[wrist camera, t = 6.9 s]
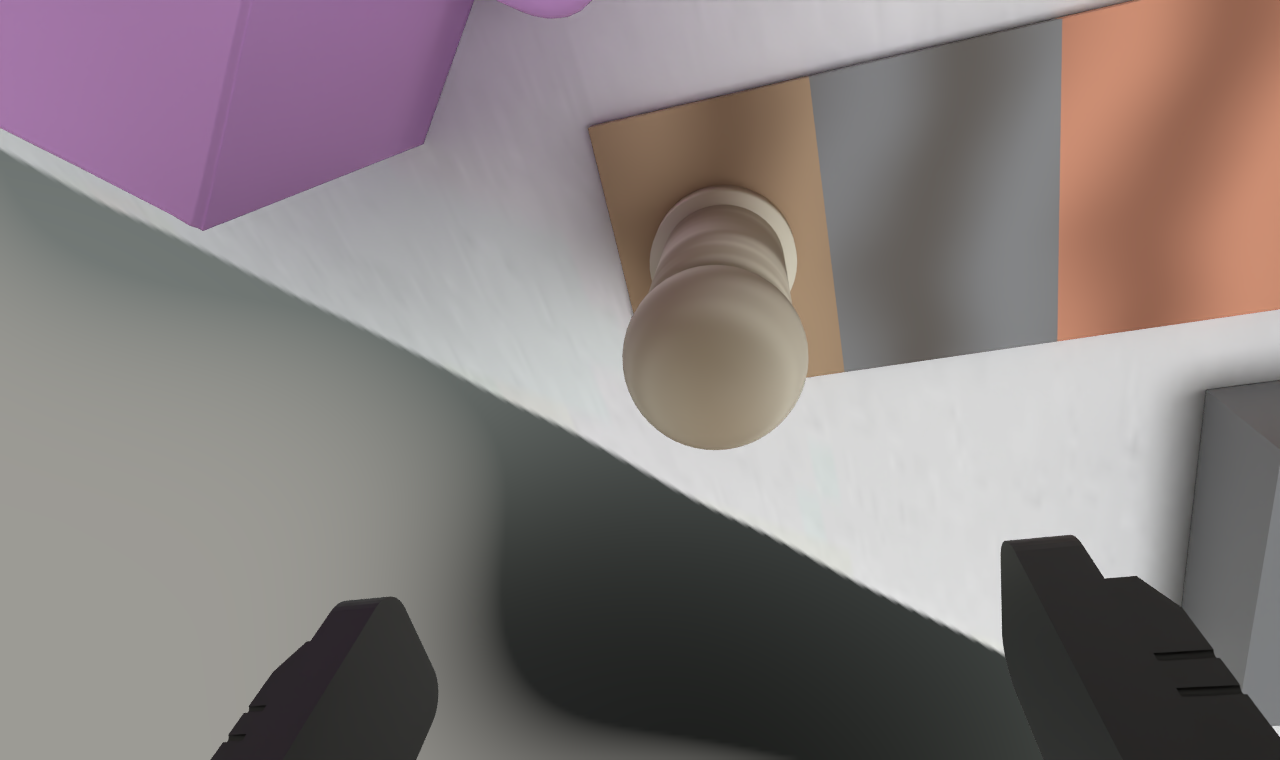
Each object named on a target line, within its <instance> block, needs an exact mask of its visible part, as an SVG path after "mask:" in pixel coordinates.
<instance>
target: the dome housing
mask: <svg viewBox="0 0 1280 760" xmlns="http://www.w3.org/2000/svg"><path fill="white" fill-rule="evenodd" d="M1182 608H1183V609H1184V611H1185V612H1186V613H1187V615H1188V616H1189V617H1190V619H1191V620H1192V621H1193V623H1194V624H1195V625H1196V627H1197V628H1198V629H1199V631H1200V632H1201V633H1202V635H1203V636H1204V637H1205V639H1206V640H1207V641H1208V643H1209V644H1210V645H1211V647H1212V648H1213V649H1214V654H1215V656H1216V658H1220V659H1221V660H1222V661H1223V663H1224V664H1225V665H1226V667H1227V668H1228V669H1229V670H1230V672H1231V673H1232V674H1233V676H1234V677H1235V678H1236V680H1237V681H1238V682H1239V684H1240V688H1241V691H1242V693H1243V694H1248V696H1249V697H1250V698H1251V700H1252V701H1253V702H1254V704H1255V705H1256V706H1257V708H1258V709H1259V710H1260V712H1261V713H1262V714H1263V716H1264V717H1265V718H1266V720H1267V721H1268V722H1269V724H1270V725H1271V726H1280V381H1274V382H1266V383H1258V384H1250V385H1242V386H1234V387H1226V388H1218V389H1210V390H1206V396H1205V405H1204V414H1203V423H1202V432H1201V441H1200V449H1199V458H1198V467H1197V476H1196V485H1195V494H1194V503H1193V512H1192V521H1191V529H1190V538H1189V547H1188V556H1187V565H1186V574H1185V583H1184V592H1183V601H1182Z"/></svg>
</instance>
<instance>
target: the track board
mask: <svg viewBox="0 0 1280 760" xmlns="http://www.w3.org/2000/svg"><path fill="white" fill-rule="evenodd" d="M588 130H589V135H590V139H591V143H592V147H593V151H594V155H595V159H596V163H597V167H598V171H599V175H600V179H601V183H602V187H603V191H604V195H605V199H606V203H607V208H608V212H609V216H610V220H611V224H612V228H613V232H614V236H615V240H616V244H617V248H618V252H619V256H620V260H621V264H622V268H623V272H624V276H625V280H626V285H627V289H628V293H629V297H630V301H631V305H632V309H633V313H635V311H636V309H637V308H638V306H639V304H640V303H641V302H642V300H643V299H644V298H645V297H646V295H647V294H648V292H649V289H650V287H651V284H652V279H651V273H650V253H651V248H652V244H653V241H654V238H655V236H656V233H657V231H658V228H659V226H660V224H661V222H662V220H663V219H664V217H665V216H666V214H667V213H668V212H669V210H670V209H671V208H672V207H673V206H674V205H675V204H676V203H678V202H679V201H680V200H681V199H683V198H684V197H686V196H687V195H689V194H691V193H693V192H695V191H698V190H700V189H703V188H707V187H710V186H718V185H732V186H739V187H743V188H747V189H750V190H752V191H755V192H757V193H759V194H761V195H762V196H764V197H766V198H767V199H768V200H769V201H771V202H772V203H773V204H774V205H775V206H776V207H777V208H778V209H779V210H780V211H781V213H782V214H783V215H784V217H785V218H786V220H787V222H788V224H789V226H790V229H791V231H792V234H793V239H794V243H795V248H796V253H797V271H796V276H795V280H794V283H793V286H792V289H791V291H790V294H791V300H792V305H793V307H794V308H795V310H796V312H797V314H798V316H799V317H800V320H801V323H802V325H803V328H804V331H805V334H806V339H807V343H808V371H807V376H806V378H807V377H814V376H821V375H827V374H834V373H841V372H848V371H855V370H862V369H869V368H876V367H883V366H890V365H897V364H904V363H911V362H917V361H924V360H931V359H938V358H945V357H952V356H959V355H966V354H973V353H980V352H987V351H994V350H1001V349H1008V348H1014V347H1021V346H1028V345H1035V344H1042V343H1049V342H1056V341H1063V340H1070V339H1077V338H1084V337H1091V336H1098V335H1104V334H1111V333H1118V332H1125V331H1132V330H1139V329H1146V328H1153V327H1160V326H1167V325H1174V324H1181V323H1188V322H1195V321H1201V320H1208V319H1215V318H1222V317H1229V316H1236V315H1243V314H1250V313H1257V312H1264V311H1271V310H1278V309H1280V0H1133V1H1128V2H1124V3H1120V4H1115V5H1111V6H1107V7H1102V8H1098V9H1094V10H1089V11H1085V12H1081V13H1076V14H1072V15H1068V16H1063V17H1059V18H1055V19H1051V20H1046V21H1042V22H1038V23H1033V24H1029V25H1025V26H1020V27H1016V28H1012V29H1007V30H1003V31H999V32H994V33H990V34H986V35H981V36H977V37H973V38H968V39H964V40H960V41H955V42H951V43H947V44H943V45H938V46H934V47H930V48H925V49H921V50H917V51H912V52H908V53H904V54H899V55H895V56H891V57H886V58H882V59H878V60H873V61H869V62H865V63H860V64H856V65H852V66H848V67H843V68H839V69H835V70H830V71H826V72H822V73H817V74H813V75H809V76H804V77H800V78H796V79H791V80H787V81H783V82H778V83H774V84H770V85H765V86H761V87H757V88H752V89H748V90H744V91H740V92H735V93H731V94H727V95H722V96H718V97H714V98H709V99H705V100H701V101H696V102H692V103H688V104H683V105H679V106H675V107H670V108H666V109H662V110H657V111H653V112H649V113H644V114H640V115H636V116H632V117H627V118H623V119H619V120H614V121H610V122H606V123H601V124H597V125H593V126H590V127H589V128H588Z"/></svg>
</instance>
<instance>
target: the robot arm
mask: <svg viewBox="0 0 1280 760" xmlns="http://www.w3.org/2000/svg"><path fill="white" fill-rule="evenodd" d="M1001 598H1002V638H1003V646H1004V652H1005V658H1006V662H1007V666H1008V670H1009V674H1010V677H1011V680H1012V684H1013V686H1014V689H1015V692H1016V694H1017V697H1018V699H1019V701H1020V704H1021V706H1022V709H1023V711H1024V714H1025V716H1026V719H1027V721H1028V723H1029V726H1030V728H1031V731H1032V733H1033V736H1034V738H1035V740H1036V743H1037V745H1038V747H1039V750H1040V752H1041V755H1042V757H1043V760H1280V737H1279V736H1278V734H1277V733H1276V732H1275V730H1274V729H1273V728H1272V726H1271V725H1270V724H1269V722H1268V721H1267V720H1266V718H1265V717H1264V716H1263V714H1262V713H1261V712H1260V710H1259V709H1258V708H1257V706H1256V705H1255V704H1254V702H1253V701H1252V700H1251V698H1250V697H1249V696H1248V694H1243V693H1242V691H1241V688H1240V684H1239V682H1238V681H1237V680H1236V678H1235V677H1234V676H1233V674H1232V673H1231V672H1230V670H1229V669H1228V668H1227V667H1226V665H1225V664H1224V663H1223V661H1222V660H1221V659H1220V658H1216V656H1215V654H1214V649H1213V648H1212V647H1211V645H1210V644H1209V643H1208V641H1207V640H1206V639H1205V637H1204V636H1203V635H1202V633H1201V632H1200V631H1199V629H1198V628H1197V627H1196V625H1195V624H1194V623H1193V621H1192V620H1191V619H1190V617H1189V616H1188V615H1187V613H1186V612H1185V611H1184V609H1183V608H1182V607H1180V606H1179V605H1177V604H1176V603H1174V602H1173V601H1171V600H1170V599H1169V598H1167V597H1166V596H1164V595H1163V594H1161V593H1160V592H1159V591H1157V590H1156V589H1154V588H1153V587H1151V586H1150V585H1148V584H1147V583H1146V582H1144V581H1143V580H1141V579H1140V578H1138V577H1137V576H1131V577H1119V578H1106V579H1104V577H1103V576H1102V574H1101V573H1100V571H1099V569H1098V568H1097V566H1096V565H1095V563H1094V562H1093V560H1092V559H1091V557H1090V556H1089V554H1088V553H1087V551H1086V550H1085V548H1084V546H1083V545H1082V544H1081V542H1080V541H1079V540H1078V539H1077V538H1076V537H1075V536H1073V535H1064V536H1053V537H1042V538H1031V539H1021V540H1010V541H1004V542H1003V543H1002V547H1001ZM437 703H438V683H437V677H436V674H435V671H434V669H433V667H432V665H431V662H430V660H429V658H428V656H427V654H426V652H425V650H424V647H423V645H422V643H421V641H420V639H419V637H418V635H417V633H416V631H415V628H414V626H413V624H412V622H411V620H410V618H409V616H408V613H407V611H406V609H405V607H404V605H403V604H402V603H401V602H400V600H398V599H397V598H395V597H381V598H371V599H360V600H349V601H343V602H341V603H339V604H337V605H336V606H335V607H334V608H333V609H332V611H331V612H330V613H329V615H328V616H327V618H326V619H325V621H324V623H323V624H322V625H321V627H320V628H319V630H318V631H317V633H316V634H315V636H314V637H313V638H312V640H311V641H308V642H306V643H305V644H304V645H302V647H300V648H299V649H298V650H297V651H296V652H295V653H294V654H292V655H291V656H290V657H289V658H288V659H287V660H286V661H285V662H284V663H283V664H281V665H280V666H279V667H278V668H277V669H276V670H275V671H274V672H273V673H272V674H271V676H270V677H269V679H268V680H267V681H266V683H265V684H264V685H263V687H262V688H261V690H260V691H259V693H258V694H257V695H256V697H255V698H254V700H253V701H252V702H251V704H250V705H249V712H248V713H244V714H243V715H242V716H241V718H240V719H239V721H238V722H237V723H236V725H235V726H234V728H233V729H232V731H231V732H230V733H229V740H228V742H223V743H222V745H221V746H220V747H219V749H218V750H217V752H216V753H215V754H214V756H213V757H212V759H211V760H416V759H417V756H418V754H419V752H420V750H421V747H422V745H423V743H424V740H425V738H426V736H427V733H428V731H429V729H430V727H431V724H432V722H433V719H434V717H435V713H436V709H437Z"/></svg>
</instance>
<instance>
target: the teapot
mask: <svg viewBox="0 0 1280 760" xmlns="http://www.w3.org/2000/svg"><path fill="white" fill-rule="evenodd" d="M497 1H499V2H501V3H503V4H506V5H508V6H510V7H512V8H515V9H517V10H519V11H521V12H524V13H527V14H530V15H533V16H537V17H543V18H562V17H568V16H570V15H573V14H575V13H577V12H579V11H581V10H582V9H583V8H584V7H585V6H586V5H587V4H588V3H590V2H591V1H592V0H497ZM473 2H474V0H0V128H2V129H4V130H6V131H8V132H10V133H12V134H14V135H16V136H18V137H20V138H22V139H24V140H25V141H27V142H29V143H31V144H33V145H35V146H37V147H39V148H41V149H43V150H45V151H47V152H49V153H51V154H53V155H55V156H57V157H59V158H61V159H63V160H65V161H67V162H69V163H71V164H73V165H75V166H78V167H80V168H81V169H83V170H85V171H87V172H89V173H91V174H93V175H95V176H97V177H99V178H101V179H103V180H105V181H107V182H109V183H111V184H113V185H115V186H117V187H119V188H121V189H122V190H124V191H126V192H128V193H130V194H132V195H134V196H136V197H138V198H140V199H142V200H144V201H146V202H148V203H150V204H152V205H154V206H156V207H158V208H160V209H161V210H163V211H165V212H167V213H169V214H171V215H173V216H175V217H176V218H178V219H180V220H181V221H183V222H185V223H186V224H188V225H190V226H192V227H196V228H199V229H201V230H202V231H204V230H207V229H209V228H212V227H214V226H217V225H219V224H222V223H224V222H227V221H229V220H232V219H234V218H237V217H240V216H242V215H245V214H247V213H250V212H252V211H255V210H257V209H260V208H262V207H265V206H267V205H270V204H272V203H275V202H278V201H280V200H283V199H285V198H288V197H290V196H293V195H295V194H298V193H300V192H303V191H305V190H308V189H310V188H313V187H316V186H318V185H321V184H323V183H326V182H328V181H331V180H333V179H336V178H338V177H341V176H343V175H346V174H348V173H351V172H353V171H356V170H359V169H361V168H364V167H366V166H369V165H371V164H374V163H376V162H379V161H381V160H384V159H386V158H389V157H391V156H394V155H397V154H399V153H402V152H404V151H407V150H409V149H412V148H414V147H417V146H419V145H422V144H424V141H425V138H426V135H427V132H428V129H429V127H430V124H431V121H432V118H433V115H434V112H435V110H436V107H437V104H438V101H439V98H440V95H441V92H442V90H443V87H444V84H445V81H446V78H447V75H448V73H449V70H450V67H451V64H452V61H453V58H454V56H455V53H456V50H457V47H458V44H459V41H460V38H461V36H462V33H463V30H464V27H465V24H466V21H467V19H468V16H469V13H470V10H471V7H472V4H473Z"/></svg>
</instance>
